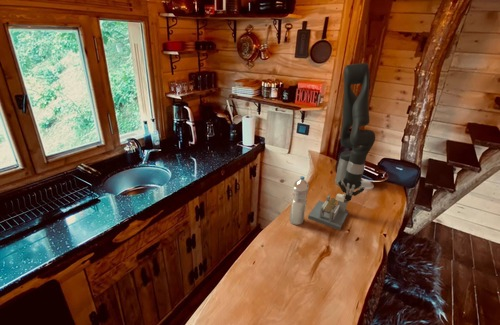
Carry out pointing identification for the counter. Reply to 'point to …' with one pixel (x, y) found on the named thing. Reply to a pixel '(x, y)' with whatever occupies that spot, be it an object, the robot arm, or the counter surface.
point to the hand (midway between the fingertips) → (347, 200)
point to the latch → (340, 197)
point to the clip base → (330, 214)
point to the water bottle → (299, 201)
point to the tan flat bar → (330, 205)
